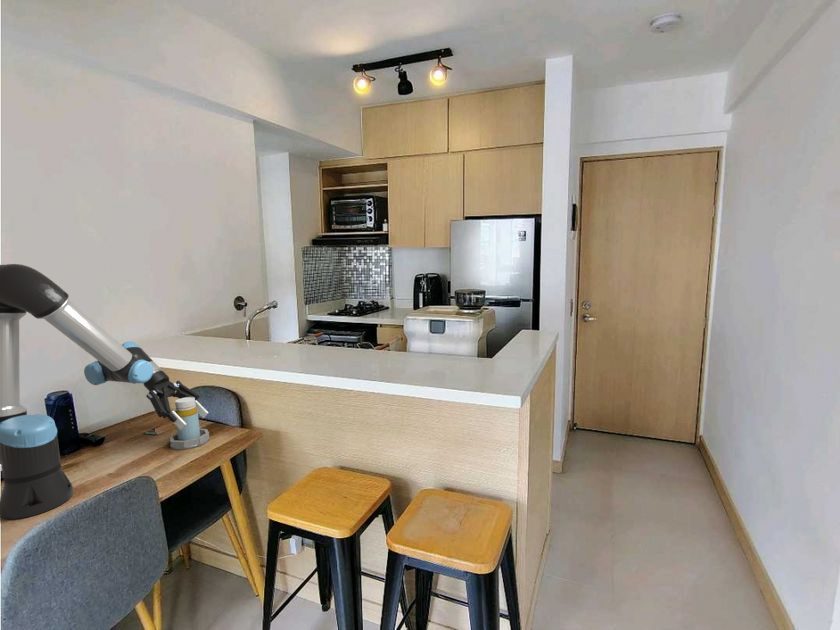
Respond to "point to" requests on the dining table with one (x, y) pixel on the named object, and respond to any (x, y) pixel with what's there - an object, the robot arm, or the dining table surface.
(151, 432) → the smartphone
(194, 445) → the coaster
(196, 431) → the bottle
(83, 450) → the dining table surface
